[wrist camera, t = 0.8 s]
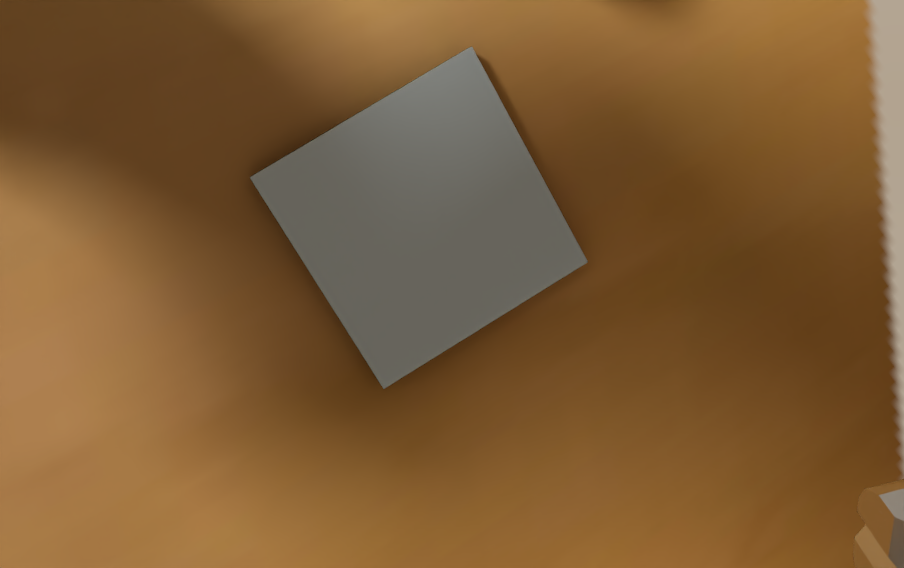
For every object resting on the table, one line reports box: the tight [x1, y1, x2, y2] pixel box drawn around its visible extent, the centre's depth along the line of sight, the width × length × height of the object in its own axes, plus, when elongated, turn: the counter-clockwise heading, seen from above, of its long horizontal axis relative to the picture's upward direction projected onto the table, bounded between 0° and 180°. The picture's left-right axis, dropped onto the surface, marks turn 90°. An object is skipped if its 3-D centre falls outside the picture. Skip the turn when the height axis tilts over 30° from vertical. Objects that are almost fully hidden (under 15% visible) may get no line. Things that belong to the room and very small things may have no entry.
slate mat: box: [250, 47, 588, 389], centre depth 42 cm, size 12×12×1 cm
